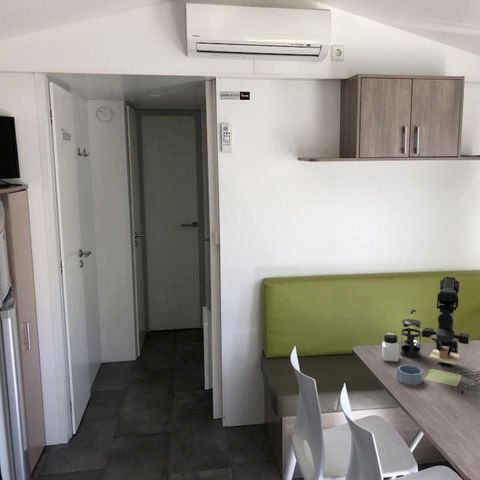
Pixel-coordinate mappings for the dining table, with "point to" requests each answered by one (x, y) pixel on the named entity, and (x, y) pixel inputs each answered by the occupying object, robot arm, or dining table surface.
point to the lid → (444, 356)
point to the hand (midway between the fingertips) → (444, 354)
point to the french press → (410, 338)
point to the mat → (443, 377)
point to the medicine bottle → (390, 348)
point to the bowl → (410, 374)
